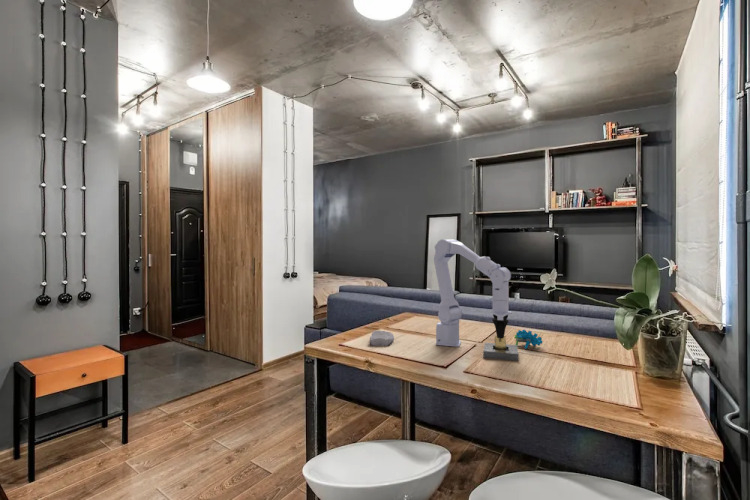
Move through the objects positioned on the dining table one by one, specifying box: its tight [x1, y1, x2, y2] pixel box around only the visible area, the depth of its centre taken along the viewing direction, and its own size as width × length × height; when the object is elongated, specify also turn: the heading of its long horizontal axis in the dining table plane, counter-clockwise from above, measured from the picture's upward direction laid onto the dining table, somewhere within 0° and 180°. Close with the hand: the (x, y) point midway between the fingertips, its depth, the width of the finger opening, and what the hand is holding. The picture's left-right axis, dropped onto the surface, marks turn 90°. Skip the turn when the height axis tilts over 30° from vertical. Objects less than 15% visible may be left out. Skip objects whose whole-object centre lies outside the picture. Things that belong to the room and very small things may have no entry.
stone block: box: [369, 330, 395, 347], centre depth 155 cm, size 12×5×10 cm
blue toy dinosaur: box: [514, 329, 543, 350], centre depth 145 cm, size 11×6×10 cm
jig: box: [482, 342, 519, 362], centre depth 136 cm, size 12×12×2 cm
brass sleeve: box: [494, 334, 507, 351], centre depth 136 cm, size 4×4×7 cm
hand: (500, 335), depth 136 cm, fingers open, 7 cm apart
